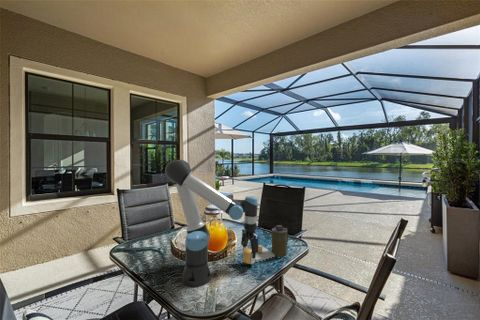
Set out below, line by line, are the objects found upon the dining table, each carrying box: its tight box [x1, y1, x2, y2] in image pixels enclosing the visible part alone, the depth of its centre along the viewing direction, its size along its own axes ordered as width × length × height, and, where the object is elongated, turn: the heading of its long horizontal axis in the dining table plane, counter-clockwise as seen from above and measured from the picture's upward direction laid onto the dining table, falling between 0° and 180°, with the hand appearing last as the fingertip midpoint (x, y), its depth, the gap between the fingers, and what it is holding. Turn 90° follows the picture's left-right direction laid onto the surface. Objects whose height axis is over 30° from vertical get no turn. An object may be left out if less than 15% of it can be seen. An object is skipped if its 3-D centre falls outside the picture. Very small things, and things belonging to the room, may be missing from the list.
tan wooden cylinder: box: [242, 248, 252, 265], centre depth 133 cm, size 7×7×6 cm
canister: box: [271, 224, 289, 258], centre depth 148 cm, size 11×10×20 cm
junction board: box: [255, 244, 275, 263], centre depth 146 cm, size 16×14×6 cm
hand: (248, 260), depth 133 cm, fingers closed on tan wooden cylinder, 7 cm apart
